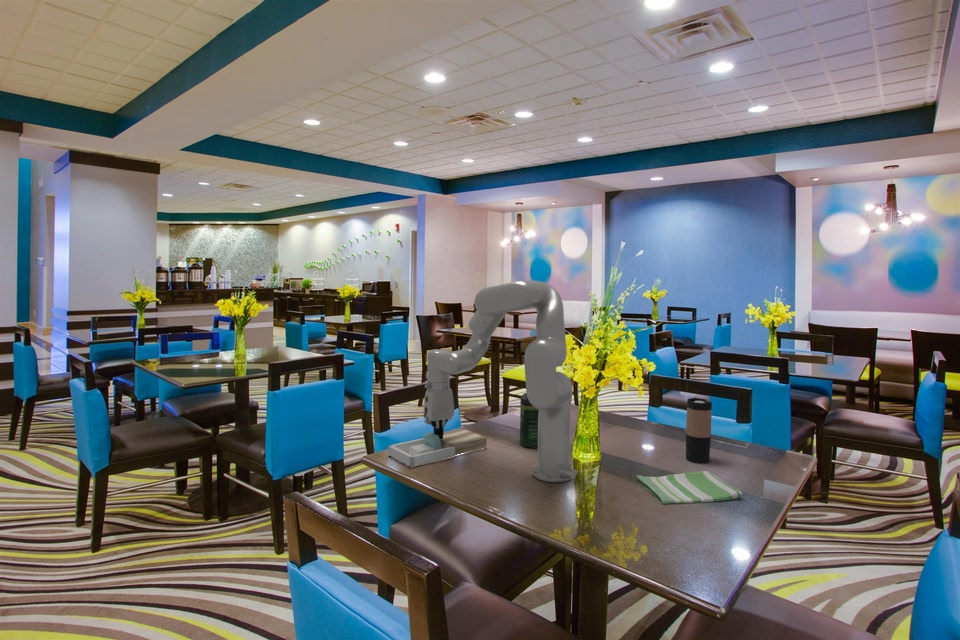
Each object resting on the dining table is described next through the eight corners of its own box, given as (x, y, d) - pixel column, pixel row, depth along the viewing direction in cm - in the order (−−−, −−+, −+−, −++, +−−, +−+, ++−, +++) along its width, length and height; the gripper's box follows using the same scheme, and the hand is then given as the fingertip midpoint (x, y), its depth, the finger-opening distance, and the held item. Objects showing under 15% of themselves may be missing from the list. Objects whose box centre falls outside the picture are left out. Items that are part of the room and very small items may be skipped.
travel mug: (683, 461, 172) (685, 401, 170) (686, 454, 178) (688, 397, 177) (709, 465, 168) (711, 404, 167) (710, 458, 175) (713, 399, 173)
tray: (455, 457, 175) (455, 447, 175) (411, 468, 164) (411, 457, 164) (430, 446, 186) (430, 436, 186) (388, 455, 176) (388, 445, 176)
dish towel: (634, 481, 156) (634, 472, 156) (708, 478, 159) (708, 469, 158) (662, 506, 138) (662, 496, 138) (744, 502, 141) (745, 492, 141)
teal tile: (438, 435, 176) (432, 438, 174) (442, 451, 177) (436, 454, 176) (428, 431, 180) (422, 434, 179) (432, 447, 182) (426, 450, 180)
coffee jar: (544, 448, 185) (545, 396, 183) (522, 448, 184) (523, 397, 183) (539, 440, 194) (539, 390, 193) (518, 440, 194) (518, 391, 192)
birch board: (486, 448, 184) (486, 437, 184) (454, 456, 175) (454, 445, 175) (462, 439, 195) (462, 428, 195) (431, 446, 186) (431, 435, 186)
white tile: (418, 451, 171) (418, 458, 172) (433, 447, 175) (434, 455, 175) (409, 446, 176) (409, 454, 176) (424, 443, 180) (424, 450, 180)
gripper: (426, 390, 170) (426, 445, 172) (462, 385, 180) (462, 437, 181) (413, 386, 176) (414, 440, 178) (449, 381, 186) (449, 432, 187)
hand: (438, 438), depth 179 cm, fingers closed
